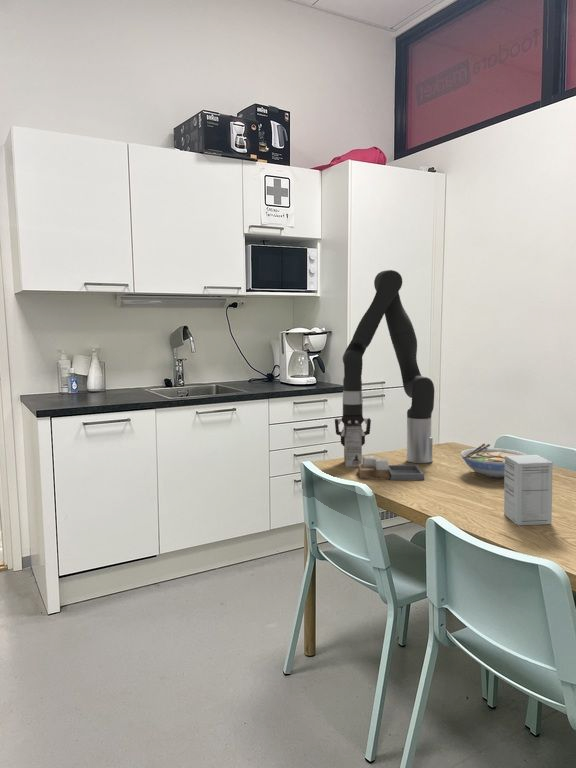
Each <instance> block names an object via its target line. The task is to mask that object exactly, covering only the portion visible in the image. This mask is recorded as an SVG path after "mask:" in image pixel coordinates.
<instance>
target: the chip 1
mask: <svg viewBox="0 0 576 768" xmlns="http://www.w3.org/2000/svg"><path fill="white" fill-rule="evenodd" d="M375 459H376V458H375V456H374V455H362V464H363V467H375Z"/></svg>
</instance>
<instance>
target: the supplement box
mask: <svg viewBox="0 0 576 768" xmlns="http://www.w3.org/2000/svg"><path fill="white" fill-rule="evenodd" d="M553 464H554V463H553V462H552V461H551V460H548V459H546V458H545V457H542V456H540V455H538V454H527V455H518V456H505V477H503V478H504V479H503V480H504V483H503V484H504V486H503V487H504V491H503V492H504V493H503V494H504V495H503V500H504V501H503V503H504V504H503V513H504V514H503V515H504V516H505V517H507V518H508V520H510V521H511V522H512V523H514V524H515V525H516V524H517V525H516V526H537V525H539V526H540V525H541V526H542V525H552V517H553V515H552V512H553V509H552V507H553Z"/></svg>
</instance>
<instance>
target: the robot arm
mask: <svg viewBox="0 0 576 768" xmlns="http://www.w3.org/2000/svg"><path fill="white" fill-rule="evenodd" d="M373 286H374V289H375V291H376V292H375V295H374V298H373V299H372V302H371V303H370V305H369V307H368V309H366V312H365V313H364V314H363V315H362V317H361V319H360V321H359V323H358V325H357V327H356V329H355V331H354V333H353V336H352V339H351V341H350V342H349V344H348V345H347V347H346V349H345V351H344V353H343V355H342V362H343V368H344V369H343V370H344V371H343V374H344V375H343V380H342V381H343V382H342V383H343V384H342V389H343V391H342V417H341V418H335V419H334V426H335V428H334V429H335V434H336V435H337V436H339V437H340V444H341V445H342V447H344V446H345V436H344V434H345V428H344V425H345V424H351V423H355V424H359V423H361V425H362V424H363V423H365V427H366V428H365V430H363V429H362V446H364V445H365V443H366V436H368V435H370V432H371V422H372V420H371V418H370V417H368V418H364V416H363V415H364V414H363V402H364V400H363V399H364V398H363V389H362V387H363V385H362V384H363V382H362V373H363V357H364V354H365V352H366V349H367V348H368V347H369V346H370V344H371V343H372V340H373V338H374V336H375V334H376V332H377V330H378V327H379V326H380V323H381V321H382V319H383V317H384V318H385V321H386V325H387V329H388V333H389V336H390V337H389V338H390V341H391V344H392V347H393V349H394V352H395V356H396V359H397V362H398V366H399V370H400V375H401V380H402V385H403V390H404V393H405V394H406V395H407V396H408V398H410V399H411V406H410V407H409V409H407V411H406V462H408V463H413V464H426V463H427V464H429V463H433V437H432V414H433V411H434V406H435V385H434V382H433V381H432V379H431V378H429V377H427V376H422V374H421V371H420V368H419V364H418V360H417V354H418V353H417V352H418V339H417V336H416V333H415V332H416V331H415V329H414V325H413V322H412V321H411V319H410V316H409V315H408V313H407V311H406V310H405V308H404V306H403V303H402V301H401V298H400V297H401V296H400V290H401V288H402V286H403V277H402V275H401V274H400V272H399V271H397V270H394V269H388V270H383V271H380V272H379V273H377V274H376V275H375V278H374V281H373ZM341 422H342V424H343V428H342V430H341V431H340V427H339V425H340V424H341Z"/></svg>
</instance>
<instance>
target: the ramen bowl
mask: <svg viewBox="0 0 576 768" xmlns="http://www.w3.org/2000/svg"><path fill="white" fill-rule="evenodd" d="M490 446H491V444H490V443H488V444H486V443H482V444H480V445H478V447H475V448H468V449H465V450H462V451H461V452H460V456H461V458H462V460H463V461H464V462H465V464H466V465H467V466H468V467H469V468H470V469H471V470H473V471H474V472H476V473H479V474H482V475H483V476H484V475H485V476H484V477H487V478H493V477H494V479H498V478H499V479H500V477H501V478H505V456H518V455H528V454H527V453H525V452H523V451H522V452H521V451H518V450H514V449H507V448H496V447H495V448H494V447H490Z"/></svg>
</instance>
